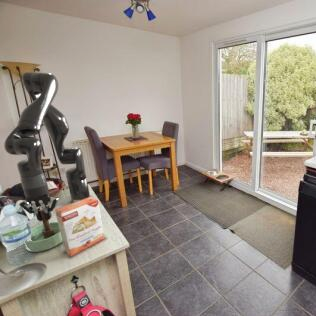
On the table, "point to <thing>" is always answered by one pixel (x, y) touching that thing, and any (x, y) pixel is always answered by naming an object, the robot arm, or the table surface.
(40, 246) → the bowl
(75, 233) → the cracker box
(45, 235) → the pestle
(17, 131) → the robot arm
